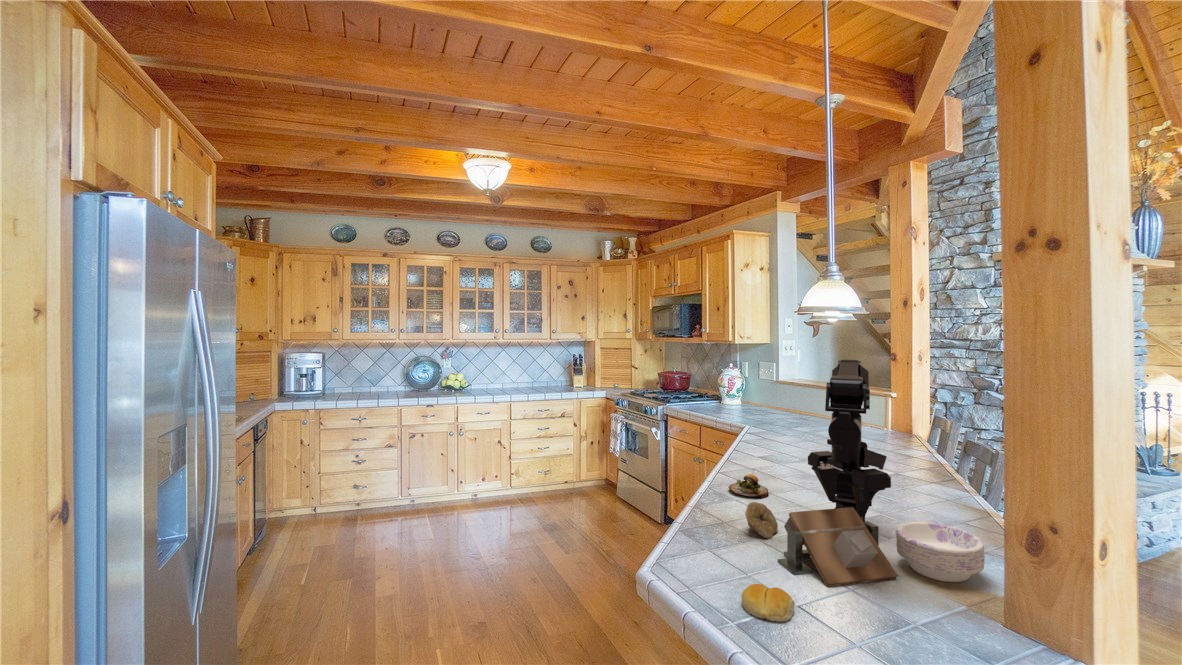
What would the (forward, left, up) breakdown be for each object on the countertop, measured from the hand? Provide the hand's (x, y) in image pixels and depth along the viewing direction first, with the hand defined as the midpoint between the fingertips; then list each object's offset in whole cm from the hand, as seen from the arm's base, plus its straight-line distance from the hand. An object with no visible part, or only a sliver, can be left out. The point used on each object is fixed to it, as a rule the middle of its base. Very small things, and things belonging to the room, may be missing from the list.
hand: (846, 508), depth 108 cm
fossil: (+8, -20, -13) cm, 25 cm away
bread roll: (+25, +12, -13) cm, 31 cm away
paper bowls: (-17, +6, -13) cm, 22 cm away
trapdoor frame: (+2, -3, -12) cm, 13 cm away
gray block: (+2, +3, -9) cm, 9 cm away
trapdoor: (+2, -2, -11) cm, 12 cm away
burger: (-4, -49, -13) cm, 51 cm away
